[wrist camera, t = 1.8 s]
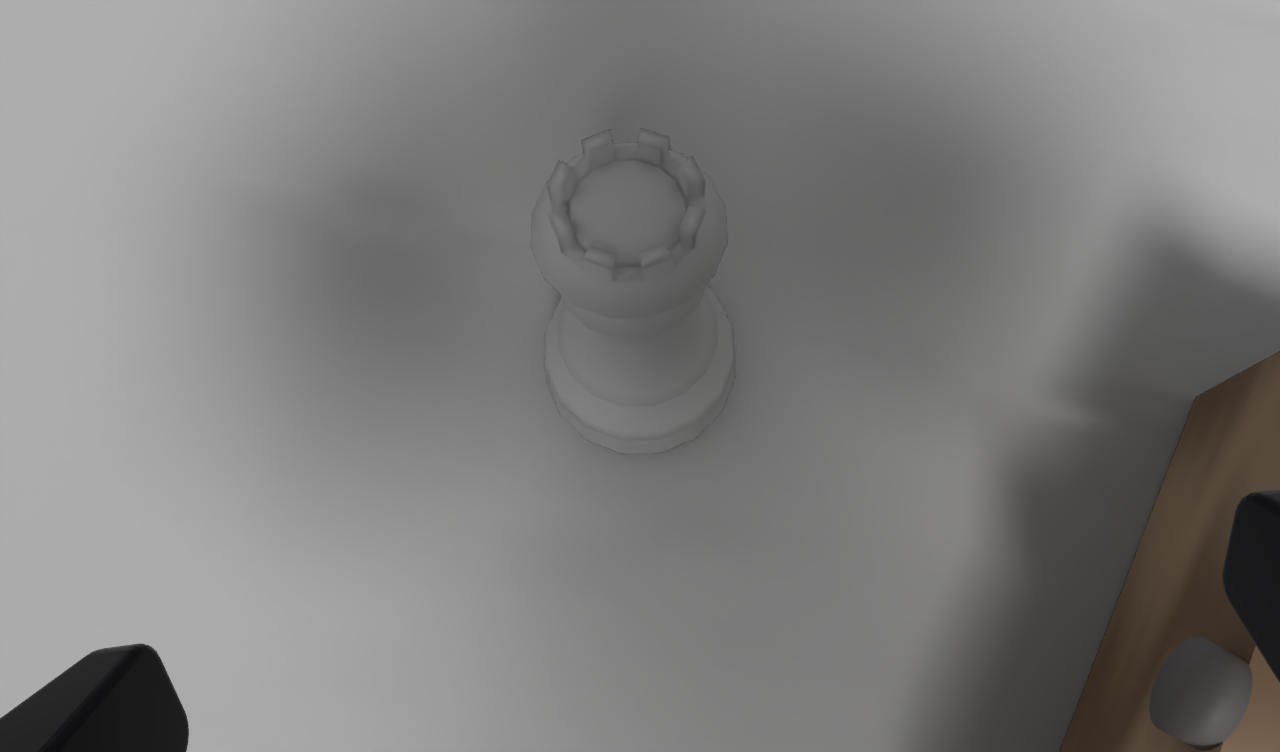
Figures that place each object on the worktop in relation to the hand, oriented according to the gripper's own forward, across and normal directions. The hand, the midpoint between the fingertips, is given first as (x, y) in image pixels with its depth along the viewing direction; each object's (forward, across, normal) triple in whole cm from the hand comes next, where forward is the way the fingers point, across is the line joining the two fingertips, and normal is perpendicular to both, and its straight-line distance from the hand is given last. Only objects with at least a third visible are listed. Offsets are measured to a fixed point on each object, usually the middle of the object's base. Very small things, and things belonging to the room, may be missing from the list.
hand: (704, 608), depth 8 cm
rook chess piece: (+14, 0, +4) cm, 14 cm away
